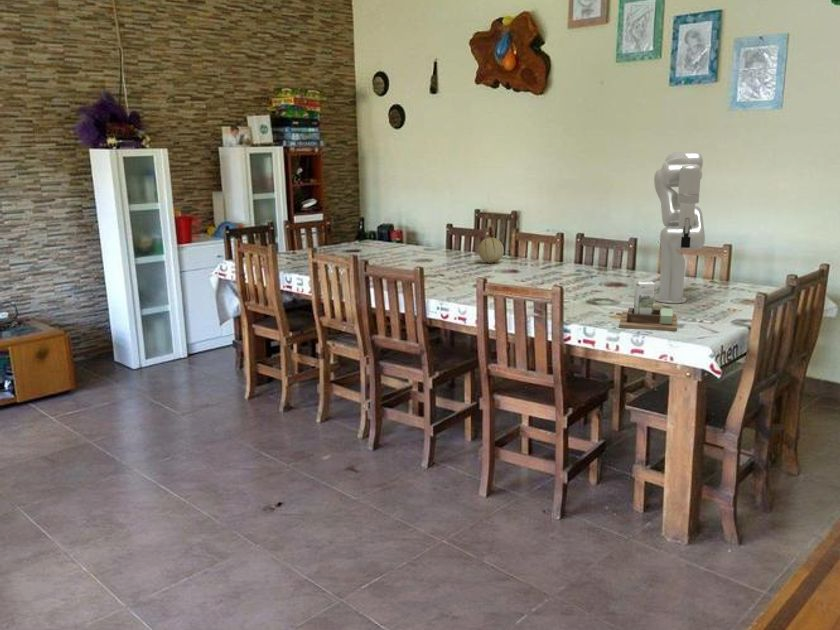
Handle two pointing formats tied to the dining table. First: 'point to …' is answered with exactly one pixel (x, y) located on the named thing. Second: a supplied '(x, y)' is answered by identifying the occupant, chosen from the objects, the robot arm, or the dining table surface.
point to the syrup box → (644, 297)
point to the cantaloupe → (491, 250)
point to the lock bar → (666, 316)
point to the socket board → (646, 321)
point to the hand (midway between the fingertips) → (685, 247)
